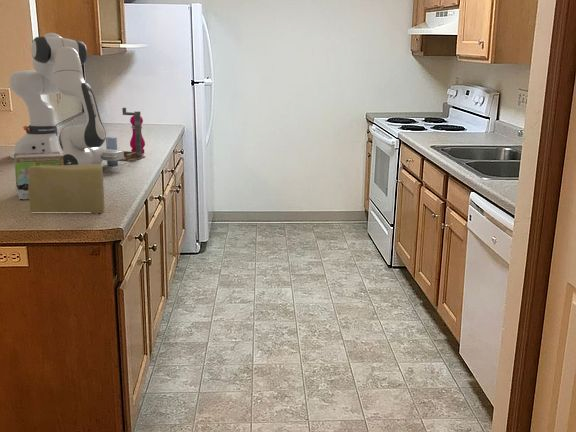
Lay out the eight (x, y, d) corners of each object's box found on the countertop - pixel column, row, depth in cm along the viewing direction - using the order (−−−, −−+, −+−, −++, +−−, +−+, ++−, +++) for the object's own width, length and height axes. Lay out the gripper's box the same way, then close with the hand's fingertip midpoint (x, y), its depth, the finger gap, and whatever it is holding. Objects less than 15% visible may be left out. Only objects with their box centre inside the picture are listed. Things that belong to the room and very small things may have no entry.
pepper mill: (141, 154, 296) (139, 113, 291) (127, 153, 297) (125, 112, 292) (147, 152, 303) (146, 111, 297) (134, 151, 304) (132, 110, 299)
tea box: (19, 201, 206) (15, 157, 202) (16, 194, 214) (12, 152, 210) (66, 197, 213) (63, 154, 209) (62, 190, 221) (59, 150, 217)
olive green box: (27, 217, 187) (23, 169, 183) (33, 209, 196) (29, 163, 192) (103, 215, 192) (100, 167, 188) (105, 207, 201) (102, 162, 197)
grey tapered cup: (109, 166, 267) (107, 138, 264) (105, 164, 271) (104, 137, 268) (119, 165, 270) (118, 137, 266) (115, 163, 273) (114, 136, 270)
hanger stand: (133, 161, 279) (131, 110, 272) (107, 159, 282) (104, 109, 275) (145, 157, 289) (143, 108, 283) (120, 155, 292) (118, 106, 286)
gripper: (113, 150, 251) (130, 145, 263) (69, 147, 255) (88, 142, 268) (114, 165, 252) (131, 159, 265) (70, 161, 257) (89, 156, 270)
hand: (109, 151), depth 267 cm, fingers open, 8 cm apart
